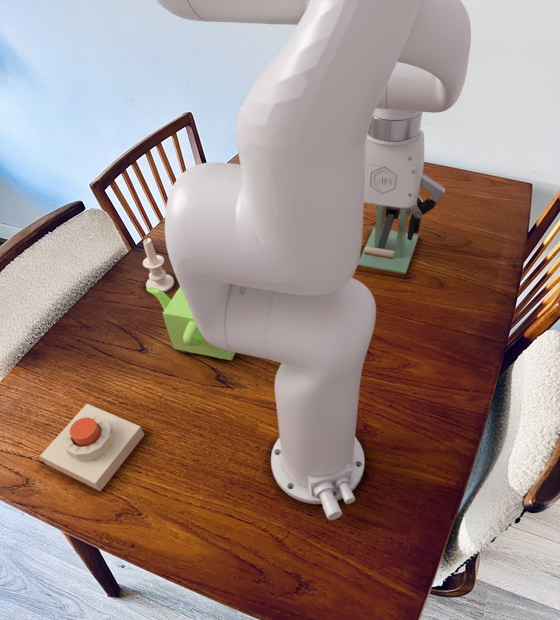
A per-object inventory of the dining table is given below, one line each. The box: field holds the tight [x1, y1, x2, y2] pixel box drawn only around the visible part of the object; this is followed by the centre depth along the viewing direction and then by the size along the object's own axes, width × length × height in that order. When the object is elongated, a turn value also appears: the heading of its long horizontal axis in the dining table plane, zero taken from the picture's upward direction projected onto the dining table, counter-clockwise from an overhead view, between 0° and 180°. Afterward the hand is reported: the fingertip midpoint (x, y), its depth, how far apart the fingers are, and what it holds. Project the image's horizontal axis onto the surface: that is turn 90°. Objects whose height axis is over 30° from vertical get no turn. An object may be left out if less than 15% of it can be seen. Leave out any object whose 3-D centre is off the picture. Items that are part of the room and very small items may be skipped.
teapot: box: [145, 286, 236, 361], centre depth 83 cm, size 15×13×11 cm
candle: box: [142, 237, 175, 293], centre depth 94 cm, size 5×5×10 cm
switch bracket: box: [357, 205, 420, 275], centre depth 95 cm, size 12×9×12 cm
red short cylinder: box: [70, 418, 100, 446], centre depth 71 cm, size 4×4×2 cm
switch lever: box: [363, 206, 401, 259], centre depth 90 cm, size 12×5×2 cm, turn 159°
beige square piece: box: [39, 403, 145, 492], centre depth 73 cm, size 10×10×4 cm
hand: (381, 230), depth 85 cm, fingers open, 9 cm apart
